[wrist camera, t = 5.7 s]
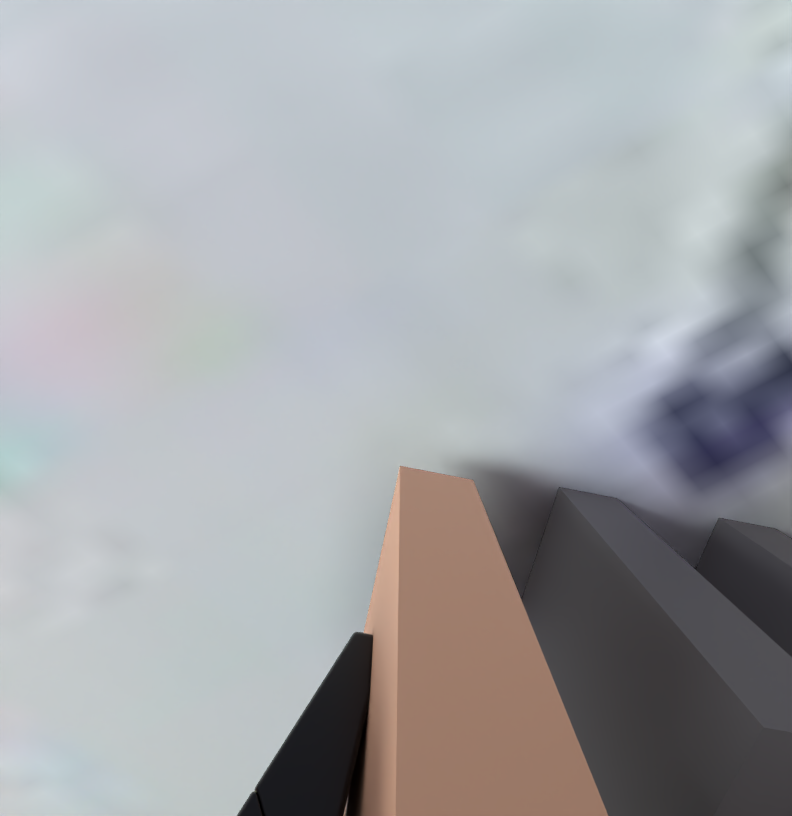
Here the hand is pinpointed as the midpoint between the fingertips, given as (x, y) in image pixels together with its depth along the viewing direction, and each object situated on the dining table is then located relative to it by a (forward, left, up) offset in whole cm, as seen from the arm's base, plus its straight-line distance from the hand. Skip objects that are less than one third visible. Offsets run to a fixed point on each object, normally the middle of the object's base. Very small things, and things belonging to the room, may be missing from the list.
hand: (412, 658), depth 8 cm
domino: (-2, -5, -4) cm, 7 cm away
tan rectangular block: (+1, 0, -2) cm, 2 cm away
